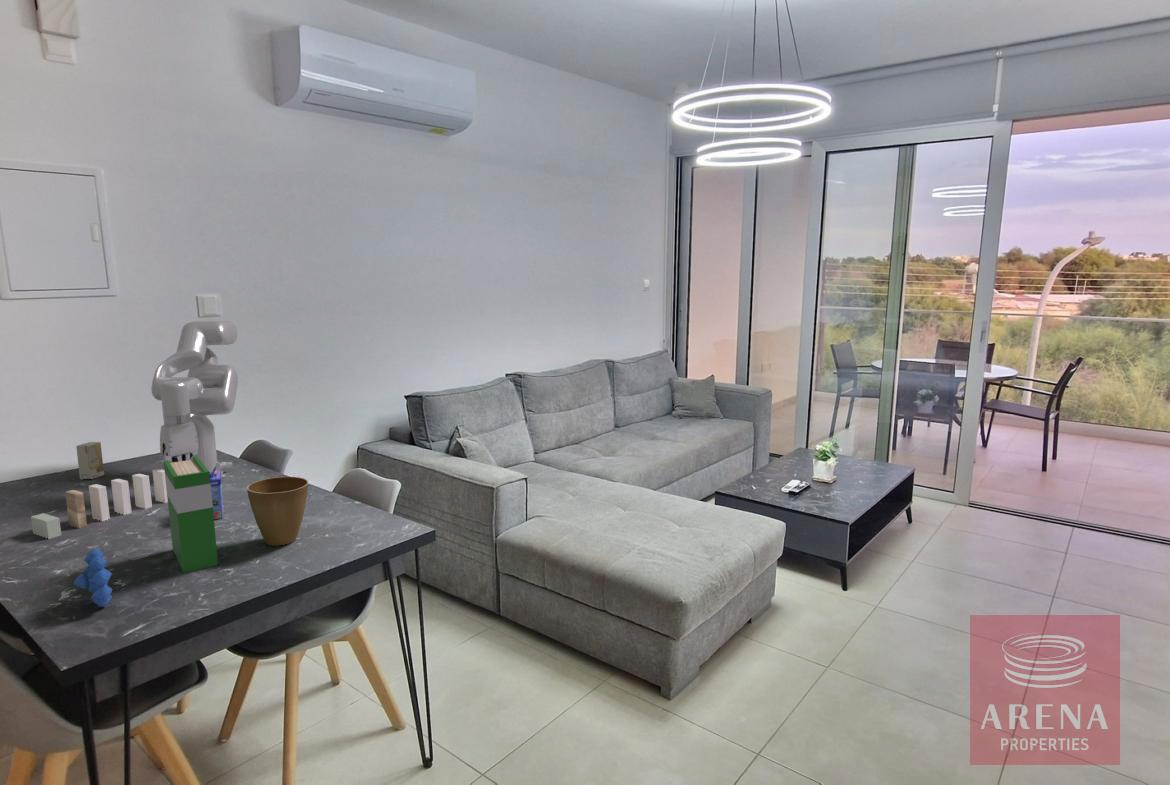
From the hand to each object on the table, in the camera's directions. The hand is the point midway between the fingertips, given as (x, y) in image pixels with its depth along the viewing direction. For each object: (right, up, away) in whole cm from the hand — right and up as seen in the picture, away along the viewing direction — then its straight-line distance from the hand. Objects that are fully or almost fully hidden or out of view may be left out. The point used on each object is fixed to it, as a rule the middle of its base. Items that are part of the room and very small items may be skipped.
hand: (182, 474), depth 213 cm
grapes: (+24, -19, -70) cm, 77 cm away
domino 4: (-6, -9, -10) cm, 14 cm away
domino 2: (-11, -10, -21) cm, 26 cm away
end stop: (-17, -12, -33) cm, 39 cm away
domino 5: (-3, -8, -5) cm, 10 cm away
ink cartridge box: (+19, -10, -16) cm, 27 cm away
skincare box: (-43, -3, +19) cm, 47 cm away
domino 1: (-14, -11, -26) cm, 32 cm away
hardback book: (+31, -15, -46) cm, 58 cm away
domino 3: (-9, -9, -15) cm, 20 cm away
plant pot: (+49, -14, -35) cm, 62 cm away
